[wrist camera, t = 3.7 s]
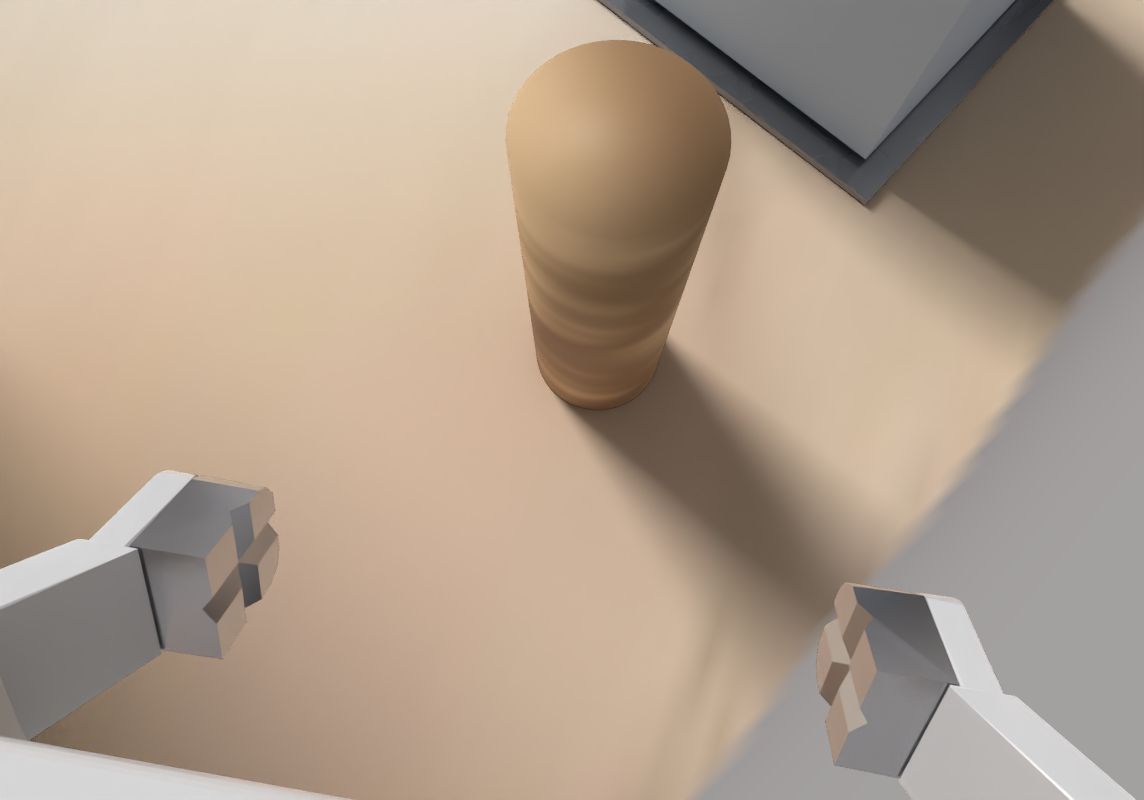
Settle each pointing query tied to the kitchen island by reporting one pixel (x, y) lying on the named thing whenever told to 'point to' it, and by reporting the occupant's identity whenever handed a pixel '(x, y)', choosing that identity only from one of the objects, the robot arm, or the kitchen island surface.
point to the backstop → (803, 132)
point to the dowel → (611, 208)
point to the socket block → (845, 53)
